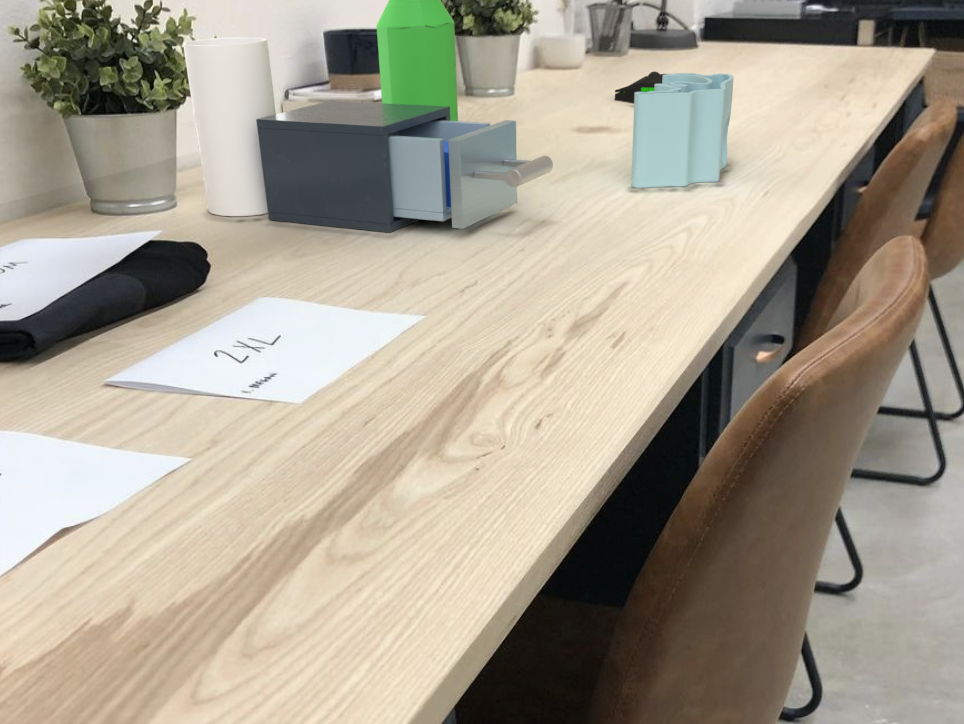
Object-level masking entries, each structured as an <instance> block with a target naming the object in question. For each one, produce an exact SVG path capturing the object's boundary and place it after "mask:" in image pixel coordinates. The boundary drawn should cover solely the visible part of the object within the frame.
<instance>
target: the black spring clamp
mask: <svg viewBox="0 0 964 724" xmlns="http://www.w3.org/2000/svg"><path fill="white" fill-rule="evenodd" d="M665 74H666V73H660V72H658V71H651V72H650V73H649V74H648V75H645V76H643V77H641V78H639V79H638V80H636V81H634V82H632V83H631V84H629V85H627V86H624V87H620V88H618V89H614V100H615V101H619V102H626V103H631V104H634V94H635V92H648V91H654V87H655V84H662V76H663V75H665Z"/></svg>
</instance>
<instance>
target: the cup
mask: <svg viewBox="0 0 964 724" xmlns="http://www.w3.org/2000/svg"><path fill="white" fill-rule="evenodd" d="M182 46H183V52H184V54H183V55H184V59H185V67H186V72H187V81H188V87H189V93H190V99H191V107H192V112H193V119H194V125H195V132H196V139H197V145H198V152H199V159H200V165H201V166H200V167H201V171H202V172H201V173H202V178H203V179H202V180H203V185H204V193H205V198H206V205H207V211H208V212H209V213H210V214H212V215H216V216H220V217H221V216H222V217H251V216H252V217H253V216H259V215H266V214H267V215H268V209H267V201H266V193H265V185H264V177H263V169H262V161H261V153H260V145H259V137H258V129H257V122H256V119H259V118H263V117H267V116H271V115H275V114H277V113H276V103H275V96H274V87H273V78H272V69H271V61H270V51H269V43H268V39H267V38H264V37H256V36H255V37H253V36H251V37H250V36H236V37H235V36H233V37H231V36H230V37H215V38H214V37H213V38H204V39H203V38H201V39H196V40H194V39H193V40H188V41H185V42H183V45H182Z"/></svg>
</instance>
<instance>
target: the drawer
mask: <svg viewBox="0 0 964 724" xmlns="http://www.w3.org/2000/svg"><path fill="white" fill-rule="evenodd" d="M387 135H388V146H389V160H390V174H391V189H392V203H393V217H403V218H413V219H420V220H425V221H432V222H433V221H435V222H445V221H447V220H449V219H451V228H452V229H461V230H463V229H466V228H467V227H470V226H471V225H474V224H476V223H478V222H481V221H483V220H485V219H487V218H489V217H491V216H493V215H495V214H496V213H500V212H501V211H503V210H505V209H507V208H510V207H512V206H514V205H516V204H518V187H520V186H522V185H524V184H527V183H528V182H531V181H534V180H536V179H538V178H540V177H542V176H544V175H546V174H548V173H550V172H551V171H552V170H553V167H554V162H553V160H552V159H551V157H549V156H548V155H543V156H539V157H537V158H534V159H531V160H526V159H518V158H517V120H513V119H512V120H511V119H510V120H509V119H504V120H502V121H499V122H496V123H493V124H491V122H484V121H483V122H482V121H481V122H480V121H464V120H458V121H448V120H432V121H429V122H426V123H422V124H419V125H416V126H413V127H410V128H406V129H403V130H400V131H397V132H393V133H390V134H387ZM444 141H447V142H448V144H449V167H450V191H451V207H448V206H447V204H446V182H445V160H444Z"/></svg>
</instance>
